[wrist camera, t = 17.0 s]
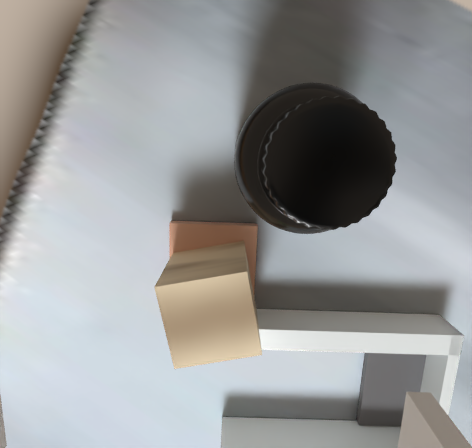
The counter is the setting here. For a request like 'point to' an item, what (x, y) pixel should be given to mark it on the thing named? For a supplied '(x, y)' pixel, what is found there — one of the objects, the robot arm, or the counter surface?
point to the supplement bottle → (314, 159)
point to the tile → (214, 238)
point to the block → (209, 305)
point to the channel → (373, 376)
